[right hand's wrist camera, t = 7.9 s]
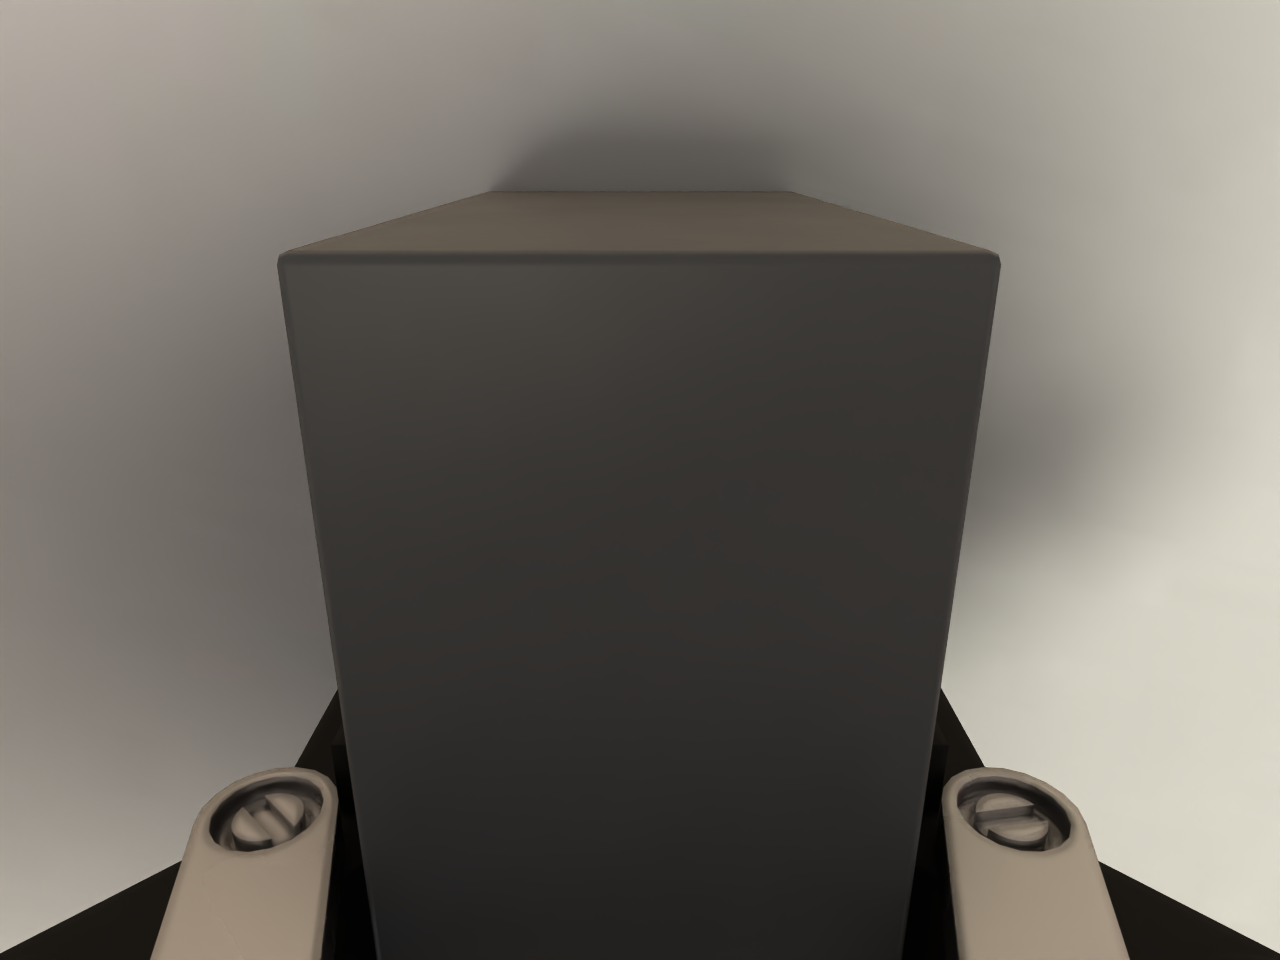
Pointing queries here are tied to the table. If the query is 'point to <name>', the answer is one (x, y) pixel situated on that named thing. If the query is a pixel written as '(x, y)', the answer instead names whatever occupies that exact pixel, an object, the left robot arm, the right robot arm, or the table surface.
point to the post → (639, 563)
